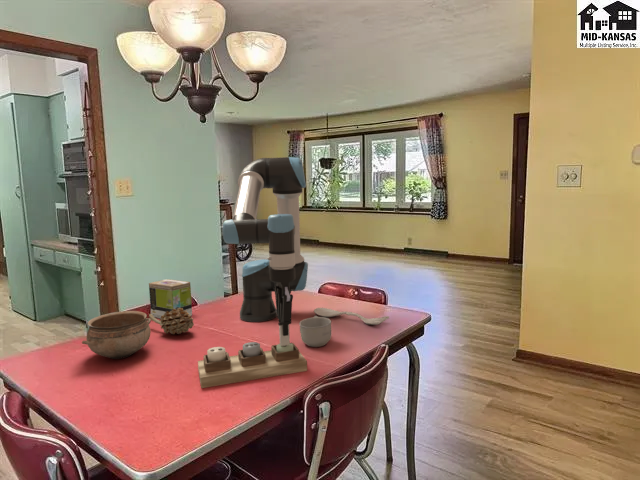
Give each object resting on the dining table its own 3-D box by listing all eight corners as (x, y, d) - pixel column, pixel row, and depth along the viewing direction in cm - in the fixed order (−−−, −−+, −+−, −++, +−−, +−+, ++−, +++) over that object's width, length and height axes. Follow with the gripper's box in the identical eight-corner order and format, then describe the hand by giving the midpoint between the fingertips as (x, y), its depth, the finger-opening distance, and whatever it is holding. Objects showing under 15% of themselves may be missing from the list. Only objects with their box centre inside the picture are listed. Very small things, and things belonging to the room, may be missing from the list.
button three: (241, 353, 130) (241, 343, 129) (258, 350, 131) (258, 340, 131) (244, 359, 125) (244, 349, 124) (261, 356, 126) (261, 346, 126)
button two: (207, 358, 126) (206, 347, 126) (224, 355, 128) (224, 345, 128) (208, 364, 122) (208, 354, 121) (226, 362, 123) (226, 351, 123)
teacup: (328, 350, 143) (328, 327, 142) (296, 348, 145) (295, 325, 144) (335, 336, 156) (335, 314, 155) (306, 334, 159) (305, 313, 158)
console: (198, 370, 129) (197, 352, 129) (295, 355, 139) (295, 339, 138) (201, 388, 118) (200, 368, 118) (307, 370, 128) (306, 352, 127)
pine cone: (201, 332, 164) (200, 306, 162) (184, 340, 155) (182, 313, 154) (156, 325, 172) (154, 301, 171) (137, 333, 163) (135, 307, 162)
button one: (275, 353, 133) (274, 343, 133) (290, 351, 135) (290, 341, 134) (278, 359, 128) (278, 349, 128) (295, 357, 130) (295, 347, 130)
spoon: (378, 330, 162) (378, 321, 162) (309, 316, 180) (309, 308, 180) (389, 324, 169) (389, 315, 169) (322, 311, 188) (321, 303, 187)
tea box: (193, 315, 185) (191, 281, 183) (173, 322, 176) (171, 286, 174) (169, 310, 193) (167, 277, 191) (150, 316, 184) (147, 282, 182)
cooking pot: (106, 375, 127) (103, 335, 126) (65, 364, 136) (62, 326, 134) (171, 346, 150) (168, 311, 148) (132, 338, 158) (129, 305, 156)
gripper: (265, 264, 133) (267, 339, 136) (274, 272, 121) (277, 354, 124) (288, 262, 135) (291, 336, 138) (300, 270, 123) (303, 350, 126)
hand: (284, 344), depth 131 cm, fingers closed
